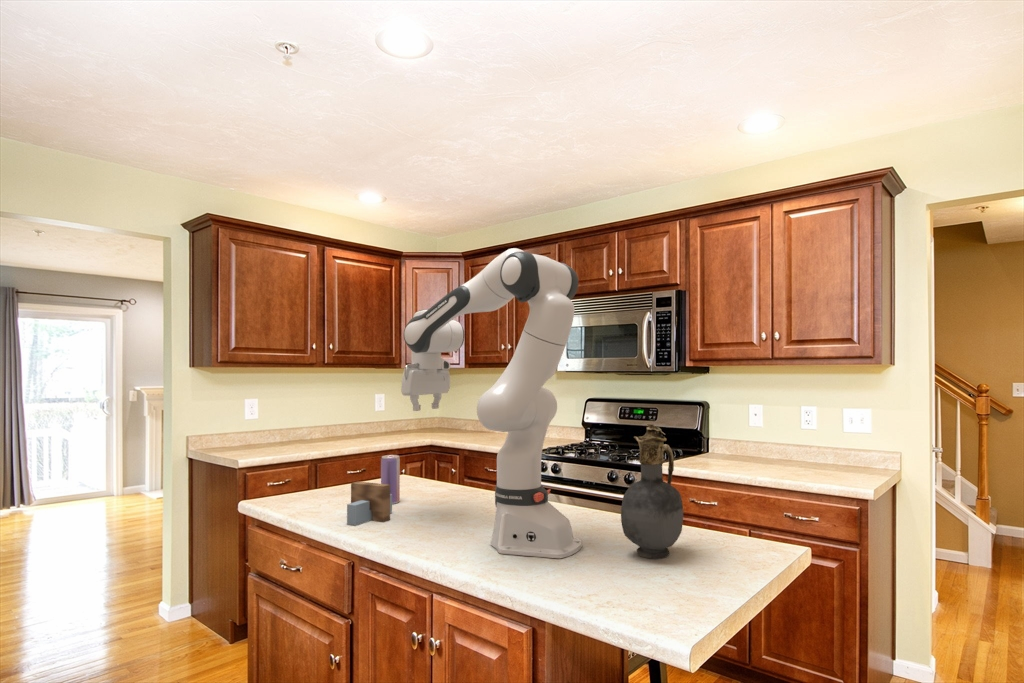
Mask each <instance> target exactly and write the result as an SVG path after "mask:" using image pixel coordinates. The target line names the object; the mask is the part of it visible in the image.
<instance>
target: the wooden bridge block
mask: <svg viewBox="0 0 1024 683" xmlns="http://www.w3.org/2000/svg"><path fill="white" fill-rule="evenodd" d="M360 500H364V501H370V511H373V520H372V521H373V522H378V523H379V522H380V523H385V522H388V521H391V514H390V485H388V484H381V483H378V482H377V483H376V482H369V481H368V482H366V481H359V480H358V481H354V482H351V483H350V503H353V502H357V501H360Z"/></svg>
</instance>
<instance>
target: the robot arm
mask: <svg viewBox="0 0 1024 683" xmlns="http://www.w3.org/2000/svg"><path fill="white" fill-rule="evenodd" d="M578 289H579V276H578V274H577V272H576V271H575V269H573V267H571V266H569V265H568V264H566V263H564V262H559V261H557V260H554V259H552V258H550V257H548V256H545V255H541V254H536V253H531V252H529V251H524V250H522V249H520V248H517V247H513V248H508V249H507V250H505V251H503V252H501V253H500V254H499V255H497V256H496V257H495V258H494V259H492V261H490V262H489V263H488V264H487V265H486V266H485V267H484V268H483V269H482V270H481V271H479V272H478V273H477V274H476V275H474V276H473V277H471V279H469V280H468V281H466V282H465V283H463V284H461V285H459V286H457V287H456V288H455V289H453V290H451V291H450V292H448V293H447V294H445V295H444V296H443V297H442V298H440V299H439V300H438V301H437V302H436V303H434V304H433V305H432V306H431V307H430V308H426V309H421V310H420V309H419V310H418V311H416V312H414V315H413V317H412V318H411V319H410V320H409V321H408V322H407V324H406V325H405V327H404V328H403V329H404V330H403V339H404V341H405V342H404V343H405V344H406V346H407V347H408V348H409V349H410V351H411V363H408V364H406V365H405V367H404V369H403V373H402V378H401V386H400V387H401V388H400V391H401V394H402V395H403V396H404V397H405V396H406V397H407V396H408V397H409V398H410V399H409V400H410V402H411V404H412V411H413V412H421V406H422V405H421V404H420V403H419V402H420V401H419V399H420V396H423V395H424V396H425V395H433V401H432V403H431V409H432V410H435V409H436V410H437V409H438V410H439V408H440V402H441V399H442V394H448V393H449V391H450V387H451V386H450V384H451V374H450V371H449V370H450V369H451V363H450V362H449V361H448V360H446V359H445V358H443V357H442V353H453V352H457V351H459V350H460V349H461V347H462V346H463V345H464V342H465V338H466V337H465V330H464V327H463V325H462V324H461V323H460V322H459V321H458V320H454V319H456V318H457V317H459V316H462V315H467V314H474V313H475V314H476V313H487V312H488V313H489V312H494V311H497V310H499V309H501V308H503V307H504V306H506V305H507V304H508V303H509V302H511V300H513V299H514V298H515V299H516V300H517V301H518V302H519V303H525V302H527V304H528V306H529V313H528V317H527V320H526V322H525V324H524V327H523V330H522V332H521V335H520V338H519V341H518V343H517V345H516V348H515V350H514V353H513V356H512V358H510V359H511V360H510V362H509V363H508V365H507V366H506V368H505V369H504V371H503V372H502V373H501V375H500V376H499V378H497V380H496V382H495V383H494V384H493V385H492V386H491V387H490V388H489V389H487V390H486V391H485V392H483V393H482V394H481V395H480V396H479V398H478V399H477V400H478V401H477V405H476V415H477V419H478V421H479V422H480V424H481V425H482V426H483V427H484V428H485V429H487V430H489V431H490V430H491V431H493V432H494V431H495V432H501V433H507V435H506V438H505V440H504V443H503V444H502V446H501V447H500V449H499V450H498V452H497V454H496V455H497V456H496V485H495V488H494V490H495V491H494V504H495V520H494V526H493V530H492V531H493V532H492V536H491V540H490V545H491V547H493V548H495V549H496V550H497V552H498V553H499V554H501V555H502V554H503V555H516V556H525V557H538V558H551V559H562V558H567V557H570V556H572V555H574V554H576V553H577V552H579V551H580V550H581V549H582V546H583V543H582V540H581V539H580V538H577V537H576V538H575V537H574V536H573V535H574V534H573V529H572V528H573V527H572V524H571V521H570V520H569V518H568V517H567V516H566V515H564V514H563V513H562V512H561V511H559V509H557V508H556V507H555V506H554V505H553V504H552V503H550V502H549V495H550V494H551V490H552V489H551V488H549V489H545V487H544V486H543V485H542V456H543V455H542V454H543V448H544V444H545V438H546V436H547V432H548V429H549V426H550V424H551V422H552V421H553V419H554V418H555V416H556V414H557V410H558V403H557V398H556V396H555V395H554V393H553V392H552V391H551V390H549V389H547V388H546V387H543V386H544V385H545V384H546V383H547V382H548V381H549V380H550V379H552V377H553V376H554V375H555V374H556V372H557V369H558V366H559V364H560V361H561V358H562V356H563V353H564V351H565V349H566V346H567V343H568V340H569V336H570V333H571V330H572V327H573V322H574V317H575V316H574V315H575V305H574V303H573V301H572V299H573V298H574V297H575V295H576V293H577V291H578Z"/></svg>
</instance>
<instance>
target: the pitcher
mask: <svg viewBox="0 0 1024 683" xmlns="http://www.w3.org/2000/svg"><path fill="white" fill-rule="evenodd" d="M645 427H646V432H645V434H643V435H642V436H641V435H640V436H635V435H634V436H633V438H634V439H635V441H637V443H638V446H639V464H640V480H638V481H636V482H634V483H632V484H631V485H630V486H629V487H628V488H627V490H625V492H624V494H623V497H622V502H621V506H620V507H621V509H620V521H621V527H622V532H623V534H624V536H625V537H626V539H628V540H629V541H630V542H631V543H632V544H635V545H636V546H637V547H638V548H636V554H637V555H638V556H640V557H642V558H645V559H650V560H651V559H652V560H653V559H654V560H657V559H664V558H667V557H668V556H669V555H670V550H669V548H670V547H673V546H674V545H675V543H676V542H677V541H678V539H679V538H680V535H682V534H681V533H682V530H683V524H684V522H683V521H684V504H683V500H682V495H681V493H680V491H678V489H676V487H674V486H673V485H671V484H672V480H673V473H674V470H675V469H674V466H675V465H674V462H675V461H674V454H673V450H672V448H671V447H670V445H669V444H666V443H665V444H664V442H666V441H667V438H666V437H665V436H666V433H664V432H663V431H662V428H660V427H659V426H656V425H655V424H652V423H647V425H645ZM665 452H666V454H667V457H668V466H667V467H668V468H667V474H668V475H667V480H666V481H664V480H663V464H664V453H665Z"/></svg>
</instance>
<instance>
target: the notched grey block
mask: <svg viewBox="0 0 1024 683" xmlns="http://www.w3.org/2000/svg"><path fill="white" fill-rule="evenodd" d="M346 504H347V505H346V525H348V526H359V525H361V524H365V523H367V522H370V521H373V511H370V501H364V500H360V501H357V502H353V503H351V502H350V503H346ZM391 514H393V504H392V494H390V515H391Z"/></svg>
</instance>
